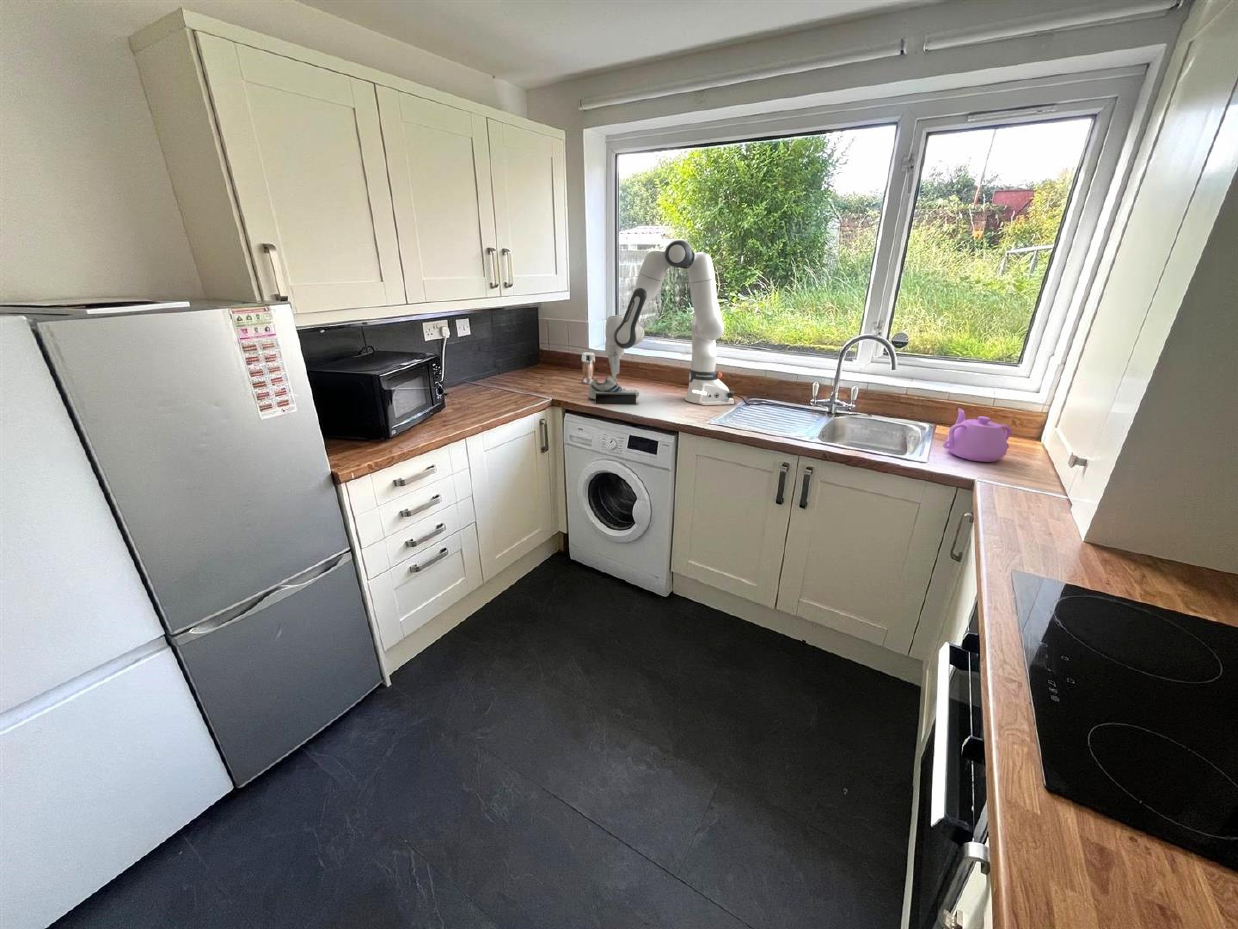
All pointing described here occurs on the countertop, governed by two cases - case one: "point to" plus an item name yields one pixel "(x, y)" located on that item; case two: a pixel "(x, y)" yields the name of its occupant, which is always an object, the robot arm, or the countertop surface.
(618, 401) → the shoe rack
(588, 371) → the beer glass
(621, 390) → the athletic shoe
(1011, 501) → the countertop surface
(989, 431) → the teapot
